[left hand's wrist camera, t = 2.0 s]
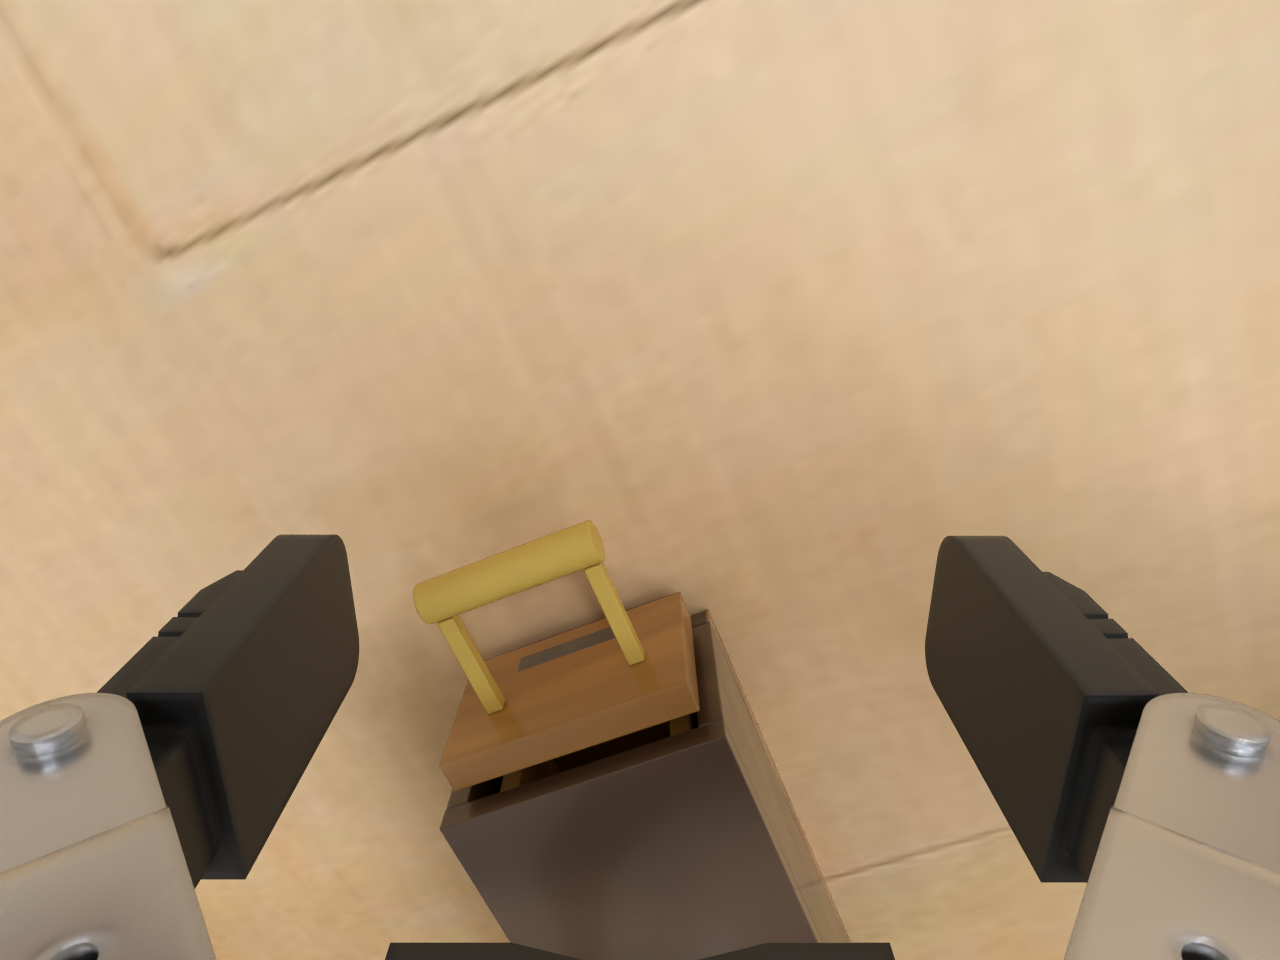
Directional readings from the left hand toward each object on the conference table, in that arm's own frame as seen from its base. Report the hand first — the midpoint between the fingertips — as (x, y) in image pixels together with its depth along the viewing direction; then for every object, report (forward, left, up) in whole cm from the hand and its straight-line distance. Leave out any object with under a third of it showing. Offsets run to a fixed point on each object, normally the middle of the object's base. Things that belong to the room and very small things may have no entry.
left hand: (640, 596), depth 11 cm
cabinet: (-18, +14, -19) cm, 30 cm away
